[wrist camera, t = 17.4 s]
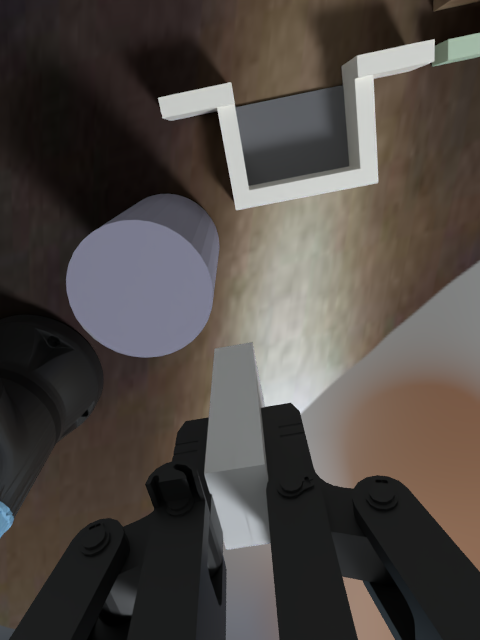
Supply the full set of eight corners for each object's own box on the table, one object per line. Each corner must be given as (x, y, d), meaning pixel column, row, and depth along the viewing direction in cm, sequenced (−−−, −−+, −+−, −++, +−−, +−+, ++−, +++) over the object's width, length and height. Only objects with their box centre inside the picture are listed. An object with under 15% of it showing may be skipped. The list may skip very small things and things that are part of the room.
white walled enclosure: (192, 212, 42) (186, 221, 37) (121, -96, 32) (103, -136, 27) (411, 170, 40) (434, 173, 36) (405, -165, 31) (435, -219, 26)
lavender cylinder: (196, 177, 40) (177, 195, 26) (233, 272, 44) (234, 331, 30) (102, 215, 42) (37, 252, 28) (146, 304, 45) (109, 374, 32)
